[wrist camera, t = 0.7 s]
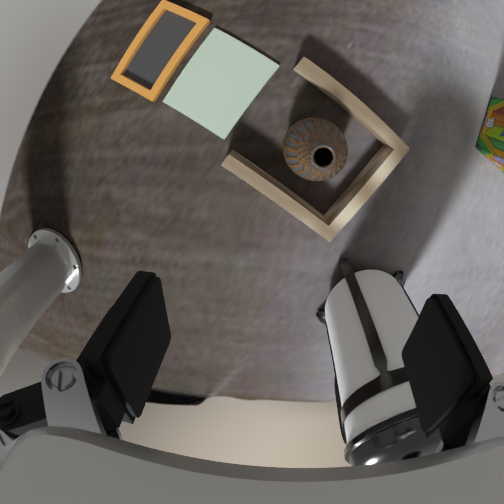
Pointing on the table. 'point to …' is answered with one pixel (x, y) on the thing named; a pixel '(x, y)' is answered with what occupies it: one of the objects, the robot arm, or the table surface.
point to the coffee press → (373, 367)
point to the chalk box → (493, 133)
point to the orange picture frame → (159, 49)
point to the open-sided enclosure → (361, 184)
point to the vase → (315, 149)
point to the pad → (220, 82)
